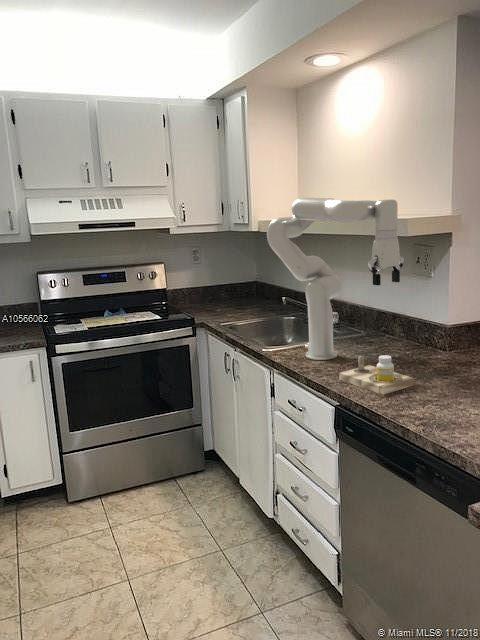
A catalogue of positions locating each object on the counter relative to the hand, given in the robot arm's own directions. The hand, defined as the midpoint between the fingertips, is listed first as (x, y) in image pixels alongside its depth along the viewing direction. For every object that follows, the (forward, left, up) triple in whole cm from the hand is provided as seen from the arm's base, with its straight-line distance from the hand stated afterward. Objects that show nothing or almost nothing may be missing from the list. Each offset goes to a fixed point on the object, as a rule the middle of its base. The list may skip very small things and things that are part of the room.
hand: (386, 283), depth 186 cm
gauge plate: (+12, -18, -30) cm, 37 cm away
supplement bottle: (+16, -18, -31) cm, 39 cm away
